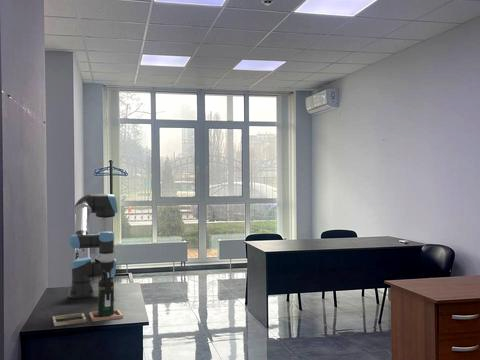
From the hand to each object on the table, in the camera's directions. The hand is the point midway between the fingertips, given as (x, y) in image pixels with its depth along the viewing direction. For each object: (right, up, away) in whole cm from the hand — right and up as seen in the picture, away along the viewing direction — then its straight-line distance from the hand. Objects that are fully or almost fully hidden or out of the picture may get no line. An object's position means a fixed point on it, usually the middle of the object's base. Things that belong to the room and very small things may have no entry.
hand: (106, 304), depth 241 cm
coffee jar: (0, -6, 0) cm, 6 cm away
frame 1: (-16, -6, -8) cm, 19 cm away
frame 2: (0, -6, 0) cm, 6 cm away
